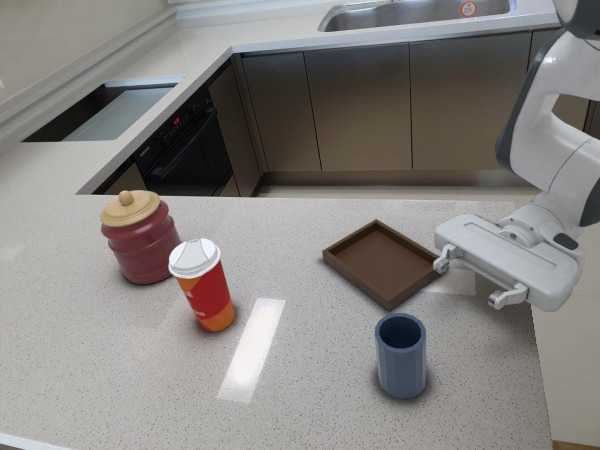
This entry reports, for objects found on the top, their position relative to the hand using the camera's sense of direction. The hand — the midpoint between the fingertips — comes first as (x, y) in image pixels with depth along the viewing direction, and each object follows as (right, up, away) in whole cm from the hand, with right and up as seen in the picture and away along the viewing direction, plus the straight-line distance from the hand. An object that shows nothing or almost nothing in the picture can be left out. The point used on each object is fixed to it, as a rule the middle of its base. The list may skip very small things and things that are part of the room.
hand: (463, 285), depth 64 cm
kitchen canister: (-52, 0, +31) cm, 61 cm away
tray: (-8, +1, +20) cm, 21 cm away
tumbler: (-8, -13, +1) cm, 16 cm away
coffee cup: (-37, -8, +16) cm, 41 cm away
